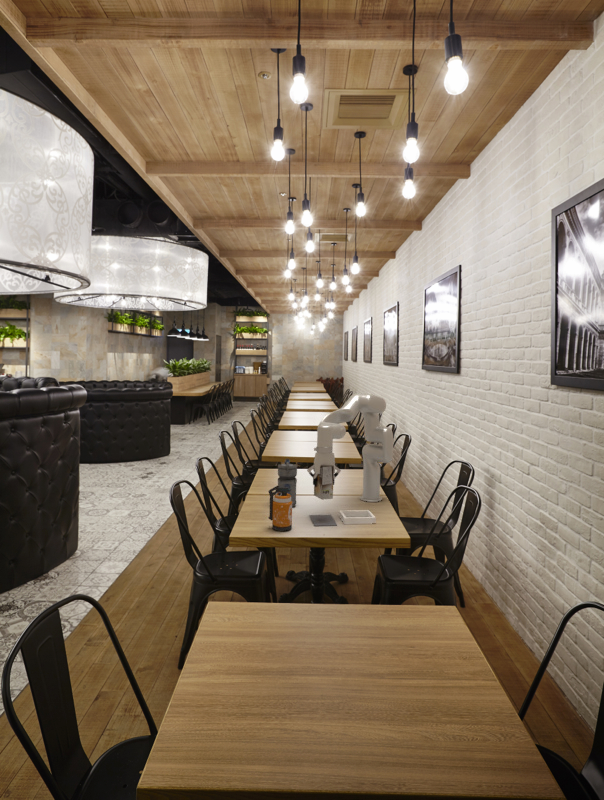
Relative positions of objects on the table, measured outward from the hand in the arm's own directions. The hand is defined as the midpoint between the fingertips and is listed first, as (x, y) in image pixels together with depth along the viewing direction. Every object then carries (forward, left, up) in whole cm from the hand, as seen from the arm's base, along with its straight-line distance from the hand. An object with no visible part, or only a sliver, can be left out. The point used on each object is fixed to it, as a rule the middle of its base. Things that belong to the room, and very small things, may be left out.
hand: (323, 486), depth 245 cm
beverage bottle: (-27, -15, -17) cm, 36 cm away
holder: (0, +17, -17) cm, 24 cm away
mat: (0, 0, -17) cm, 17 cm away
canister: (+10, -22, -17) cm, 30 cm away
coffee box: (0, 0, -6) cm, 6 cm away
